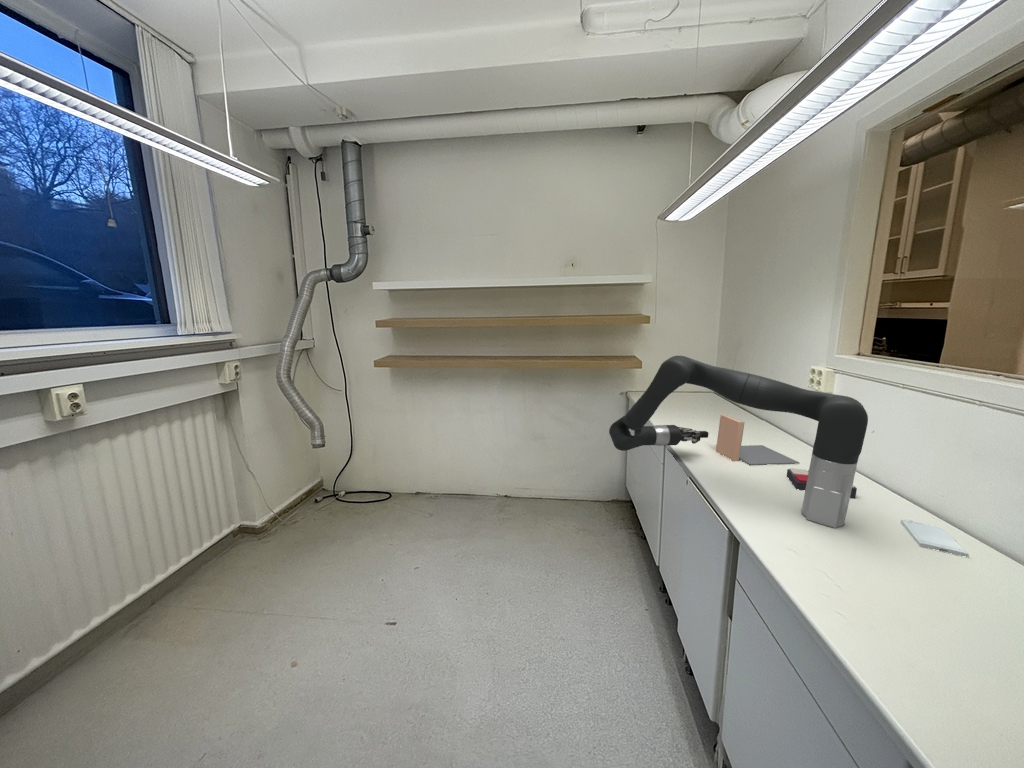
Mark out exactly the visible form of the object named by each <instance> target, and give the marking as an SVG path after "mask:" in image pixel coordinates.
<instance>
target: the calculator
mask: <svg viewBox="0 0 1024 768" xmlns="http://www.w3.org/2000/svg"><path fill="white" fill-rule="evenodd" d="M808 473H809V469H808V470H807V469H802V468H794V467H790V468H788V469H787V470H786V477H787V479H788V478H789V479H788V480H789V482H790V481H791V482H792V483H791V482H790V483H791V484H792V486H793V485H794V486H795V487H794V486H793V487H794V489H796V490H797V489H799V490H798V491H802V490H805V489H806V483H807V478H808ZM857 489H858V488H857V487H856V486H855V484H853V486H852V490H851V495H850V499H854V500H855V499H856V497H857V491H858V490H857Z"/></svg>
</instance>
